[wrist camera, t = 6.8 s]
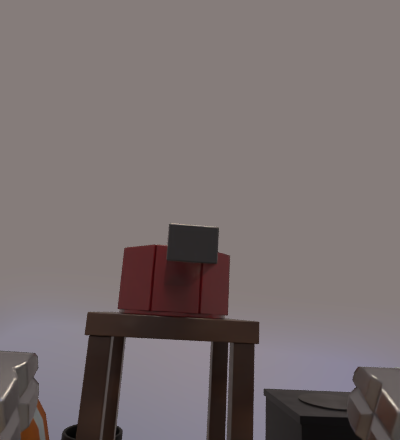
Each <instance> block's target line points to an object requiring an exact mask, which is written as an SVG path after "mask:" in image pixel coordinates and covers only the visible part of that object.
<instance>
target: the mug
mask: <svg viewBox="0 0 400 440" xmlns="http://www.w3.org/2000/svg"><path fill="white" fill-rule="evenodd" d="M77 425H78V424H77ZM77 425H73V426H70V427H68V428H66V429H65V430H64V431H63V433H62V439H61V440H76V433H77ZM115 440H122V429H121V428H120V427H118V426H116V435H115Z"/></svg>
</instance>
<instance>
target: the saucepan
mask: <svg viewBox="0 0 400 440" xmlns="http://www.w3.org/2000/svg"><path fill="white" fill-rule="evenodd" d="M218 236H219V228H218V227H210V226H196V225H186V224H172V223H171V224H169V232H168V242H167V245H146V246H137V247H127V248H125V249H124V258H123V266H122V275H121V283H120V292H119V302H118V309H120V310H119V313H125V314H139V315H154V316H171V317H189V318H208V319H225V315H228V295H229V267H230V256H229V255H226V254H223V253H219V252H218Z"/></svg>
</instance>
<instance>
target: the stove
mask: <svg viewBox="0 0 400 440" xmlns="http://www.w3.org/2000/svg"><path fill="white" fill-rule="evenodd" d="M349 393H350V392H331V391H306V390H282V389H264V396H266V440H362V439H361V438H360V437H358V436H357V435H356V434H355V433H354V431H353V429H352V427H351V425H350V422H349V419H348V415H347V400H348V396H349Z"/></svg>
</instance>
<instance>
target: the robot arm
mask: <svg viewBox="0 0 400 440" xmlns="http://www.w3.org/2000/svg"><path fill="white" fill-rule="evenodd" d="M37 369H38V356H37V355H36V354H35V353H27V352H11V351H0V440H21V432H23V431H24V430H25V429H27V428H28V427H29V426H30V424H31V421H32V419H33V417H34V414H35V410H36V407H37V403H38V395H39V383H38V382H37V381H36V380H35V379H34V375H35V373H36V371H37ZM353 382H354V384H355V386H356V388H355V389H354V390H353V391H352V392H350V393H349V396H348V400H347V415H348V419H349V422H350V425H351V427H352V429H353V431H354V433H355V434H356V435H357V436H358V437H360V438H361V439H362V440H400V368H397V367H395V368H378V367H358V368H357V369H356V371H355V372H354V376H353Z"/></svg>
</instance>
